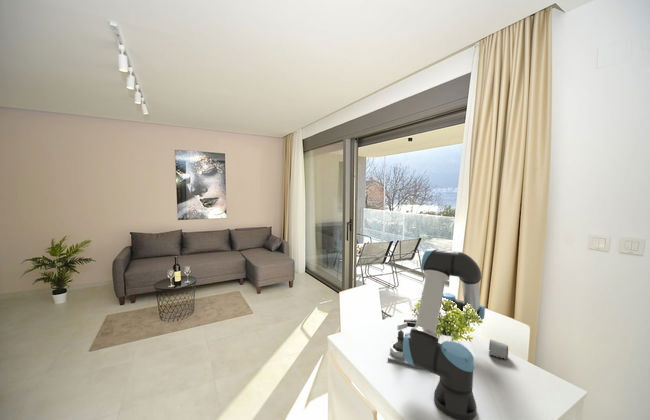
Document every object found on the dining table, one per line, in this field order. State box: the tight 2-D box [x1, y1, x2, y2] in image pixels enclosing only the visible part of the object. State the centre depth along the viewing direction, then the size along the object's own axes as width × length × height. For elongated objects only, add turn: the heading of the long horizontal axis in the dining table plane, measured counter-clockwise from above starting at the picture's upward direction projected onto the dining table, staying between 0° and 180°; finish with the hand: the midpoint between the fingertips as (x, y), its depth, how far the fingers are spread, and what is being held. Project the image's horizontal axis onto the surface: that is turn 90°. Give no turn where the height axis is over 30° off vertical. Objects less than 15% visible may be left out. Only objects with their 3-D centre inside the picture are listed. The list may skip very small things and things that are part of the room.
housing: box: [387, 341, 427, 372], centre depth 135 cm, size 15×20×4 cm
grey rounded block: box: [488, 338, 509, 360], centre depth 138 cm, size 11×8×8 cm
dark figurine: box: [394, 329, 405, 352], centre depth 137 cm, size 6×6×12 cm
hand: (407, 333), depth 139 cm, fingers open, 13 cm apart
